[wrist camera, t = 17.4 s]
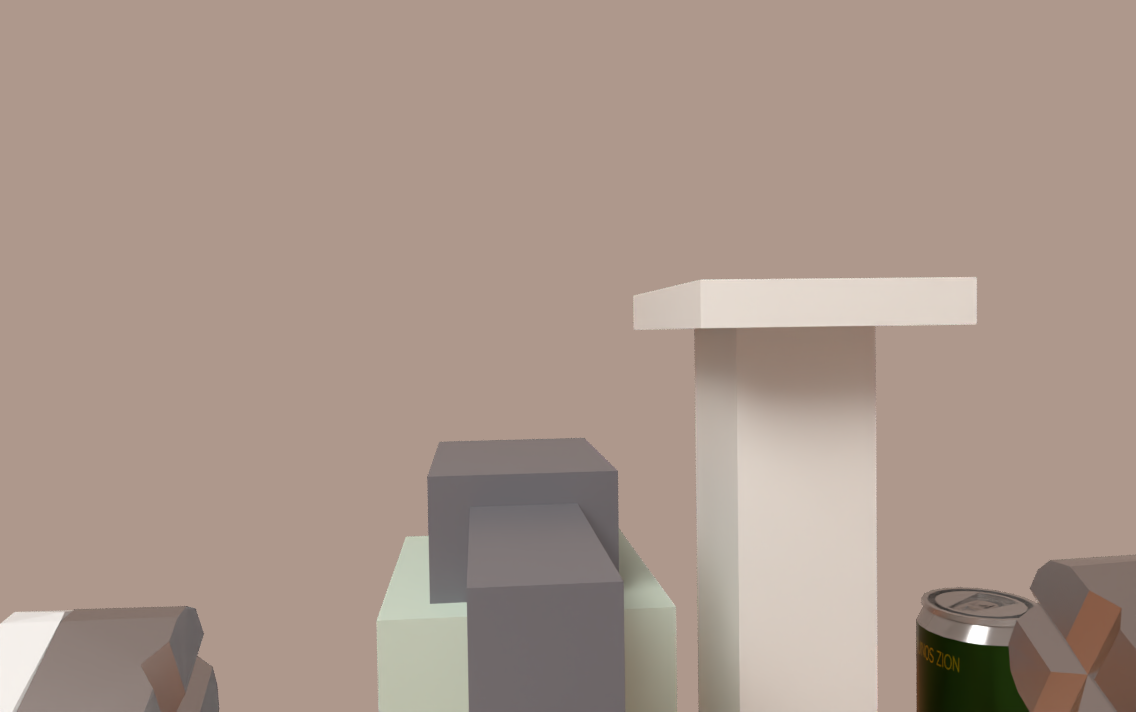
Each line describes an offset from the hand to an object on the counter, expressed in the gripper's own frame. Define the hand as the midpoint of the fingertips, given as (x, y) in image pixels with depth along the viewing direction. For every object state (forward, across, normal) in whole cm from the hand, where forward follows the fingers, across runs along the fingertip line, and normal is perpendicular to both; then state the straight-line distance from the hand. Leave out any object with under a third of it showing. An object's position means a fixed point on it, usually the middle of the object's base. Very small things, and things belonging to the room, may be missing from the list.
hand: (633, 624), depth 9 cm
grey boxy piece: (+15, 0, +15) cm, 21 cm away
